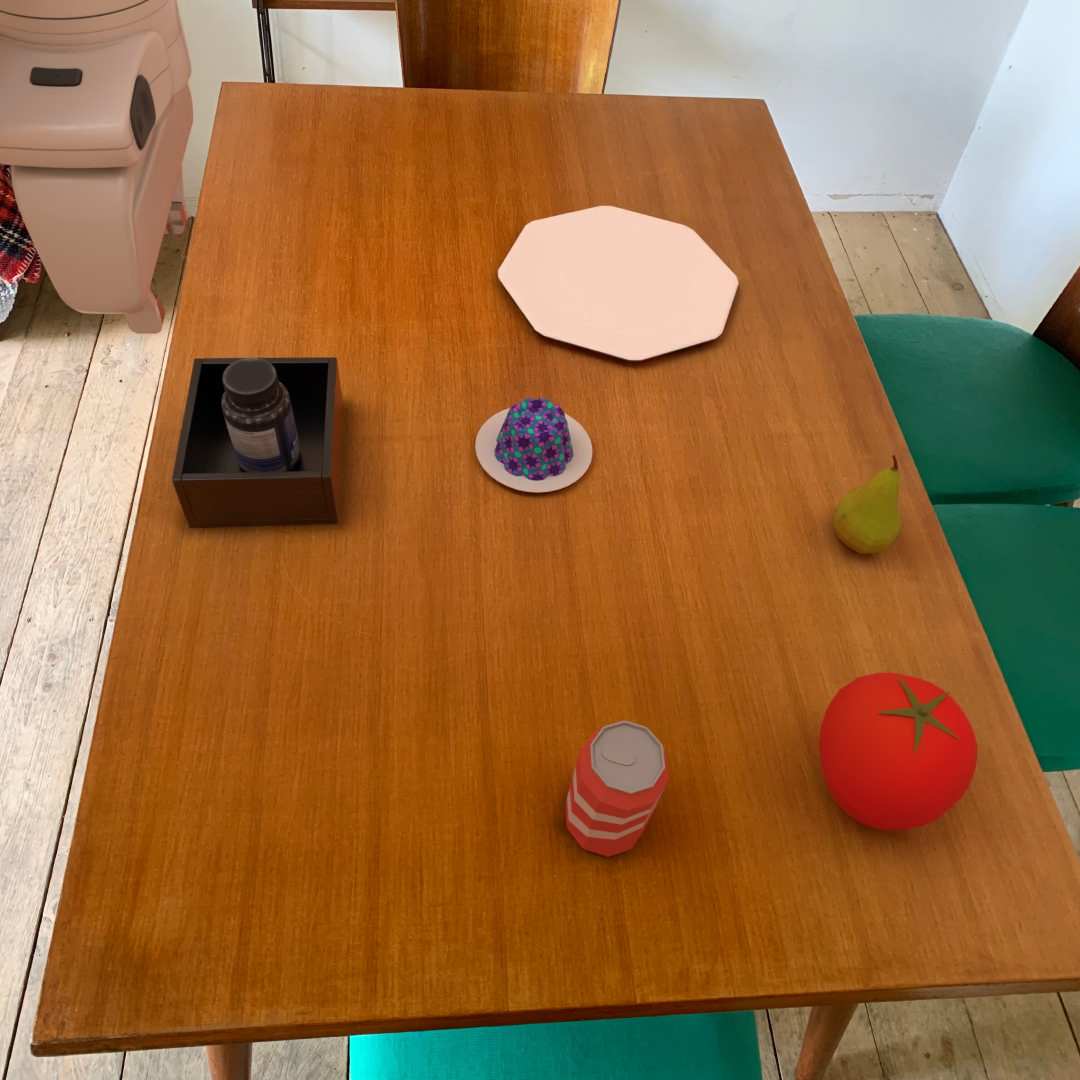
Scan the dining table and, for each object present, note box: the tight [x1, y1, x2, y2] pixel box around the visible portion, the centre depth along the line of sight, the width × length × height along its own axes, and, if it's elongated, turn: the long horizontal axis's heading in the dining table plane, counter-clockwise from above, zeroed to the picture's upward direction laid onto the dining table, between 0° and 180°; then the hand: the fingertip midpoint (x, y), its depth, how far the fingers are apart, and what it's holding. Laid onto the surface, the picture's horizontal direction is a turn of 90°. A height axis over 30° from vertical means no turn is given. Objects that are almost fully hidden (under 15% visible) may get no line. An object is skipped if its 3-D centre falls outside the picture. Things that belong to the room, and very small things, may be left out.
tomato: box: [818, 671, 978, 831], centre depth 70 cm, size 11×11×13 cm
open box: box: [171, 356, 344, 529], centre depth 88 cm, size 14×16×7 cm
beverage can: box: [565, 719, 670, 858], centre depth 67 cm, size 6×6×12 cm
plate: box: [497, 205, 740, 362], centre depth 111 cm, size 28×28×2 cm
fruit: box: [833, 454, 902, 555], centre depth 86 cm, size 6×6×12 cm
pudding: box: [474, 397, 593, 493], centre depth 92 cm, size 12×12×5 cm
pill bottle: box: [221, 357, 300, 472], centre depth 86 cm, size 6×6×11 cm
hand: (162, 274), depth 56 cm, fingers open, 8 cm apart
